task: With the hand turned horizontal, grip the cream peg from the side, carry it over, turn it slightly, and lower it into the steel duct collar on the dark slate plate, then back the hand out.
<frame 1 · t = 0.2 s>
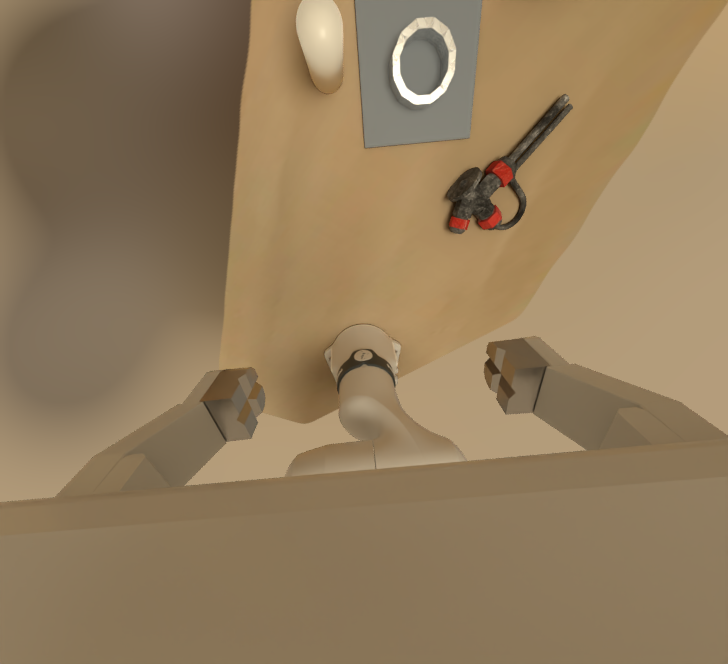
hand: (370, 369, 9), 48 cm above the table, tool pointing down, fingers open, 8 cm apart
cream peg: (326, 72, 41), on the table
duct collar: (421, 67, 40), on the slate plate
slate plate: (417, 72, 42), on the table
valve: (504, 180, 50), on the table
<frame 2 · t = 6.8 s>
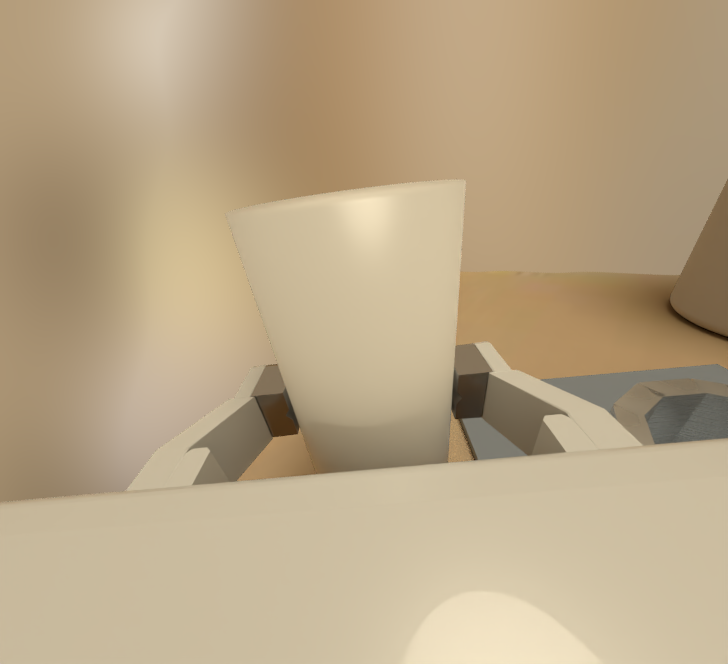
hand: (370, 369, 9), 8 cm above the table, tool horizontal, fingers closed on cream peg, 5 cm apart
cream peg: (389, 517, 13), on the table, touching gripper
slate plate: (725, 524, 11), on the table
when the fingers open (10 cm above the table, at t = 11.6 s): cream peg drops 1 cm, resting on slate plate.
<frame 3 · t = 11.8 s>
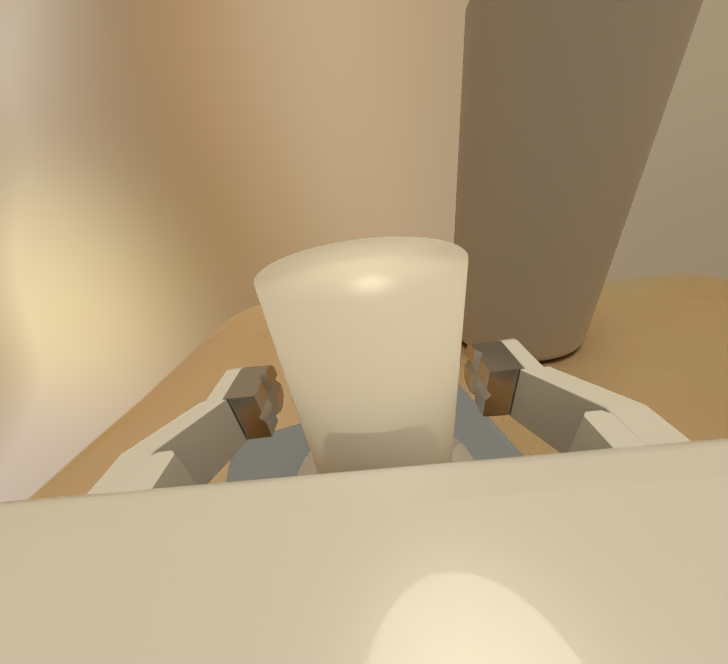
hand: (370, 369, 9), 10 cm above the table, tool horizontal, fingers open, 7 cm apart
cream peg: (392, 533, 14), point 1 cm above the table, touching slate plate
duct collar: (389, 514, 13), on the slate plate
slate plate: (392, 536, 14), on the table
cylinder vase: (509, 331, 29), on the table
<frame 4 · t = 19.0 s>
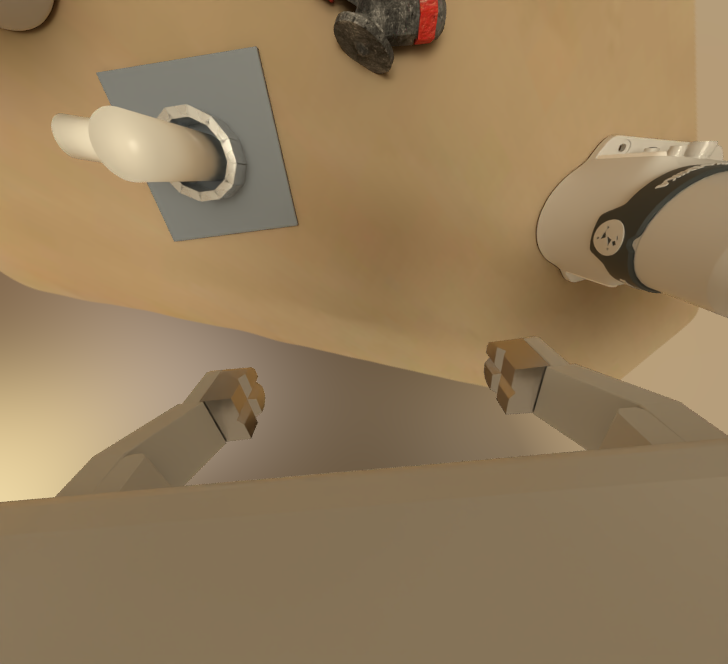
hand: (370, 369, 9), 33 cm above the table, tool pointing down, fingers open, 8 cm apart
cream peg: (209, 157, 33), point 1 cm above the table, touching slate plate
duct collar: (202, 157, 32), on the slate plate
slate plate: (211, 158, 34), on the table
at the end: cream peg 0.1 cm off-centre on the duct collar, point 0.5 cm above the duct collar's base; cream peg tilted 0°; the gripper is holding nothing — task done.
